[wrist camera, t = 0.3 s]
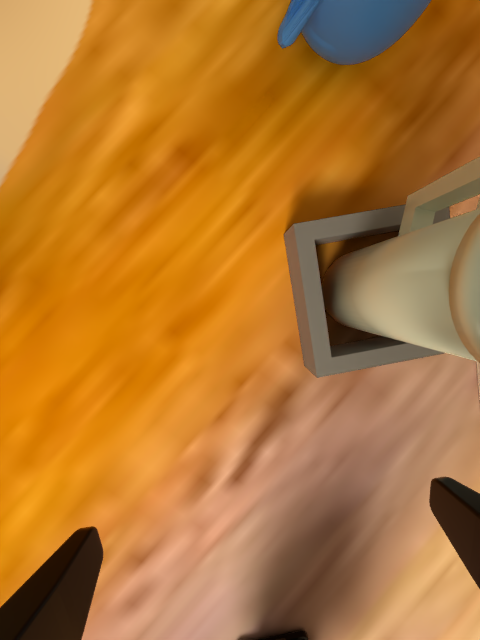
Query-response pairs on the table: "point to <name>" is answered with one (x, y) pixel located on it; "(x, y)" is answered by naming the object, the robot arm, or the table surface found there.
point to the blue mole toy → (349, 26)
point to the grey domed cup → (418, 274)
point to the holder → (310, 298)
